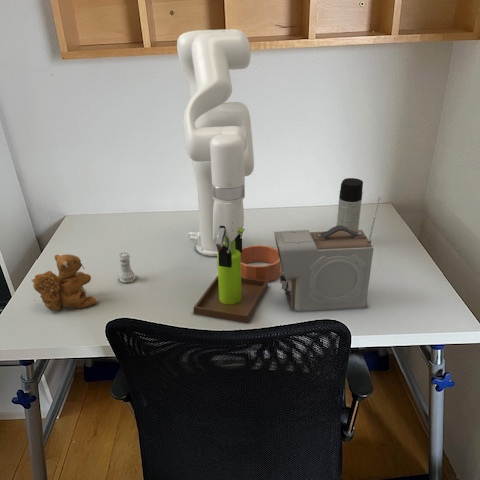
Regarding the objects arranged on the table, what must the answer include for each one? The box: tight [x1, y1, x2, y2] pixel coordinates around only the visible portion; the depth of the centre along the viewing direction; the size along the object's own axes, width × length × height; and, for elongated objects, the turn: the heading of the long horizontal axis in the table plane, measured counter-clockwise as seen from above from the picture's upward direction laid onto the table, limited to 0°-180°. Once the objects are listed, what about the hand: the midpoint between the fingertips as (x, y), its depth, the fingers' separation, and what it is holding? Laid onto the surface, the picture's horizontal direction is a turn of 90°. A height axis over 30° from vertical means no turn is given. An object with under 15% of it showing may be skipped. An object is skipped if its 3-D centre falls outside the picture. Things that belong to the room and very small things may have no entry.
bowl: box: [241, 244, 283, 283], centre depth 152 cm, size 13×13×5 cm
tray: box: [193, 275, 269, 324], centre depth 140 cm, size 14×18×2 cm
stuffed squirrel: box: [31, 254, 98, 312], centre depth 137 cm, size 10×14×13 cm
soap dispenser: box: [216, 227, 245, 304], centre depth 135 cm, size 6×7×20 cm
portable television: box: [273, 195, 381, 312], centre depth 131 cm, size 12×24×30 cm, turn 94°
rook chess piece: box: [117, 251, 136, 284], centre depth 149 cm, size 4×4×8 cm
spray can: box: [336, 177, 364, 230], centre depth 162 cm, size 7×7×20 cm
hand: (230, 258), depth 134 cm, fingers open, 7 cm apart
